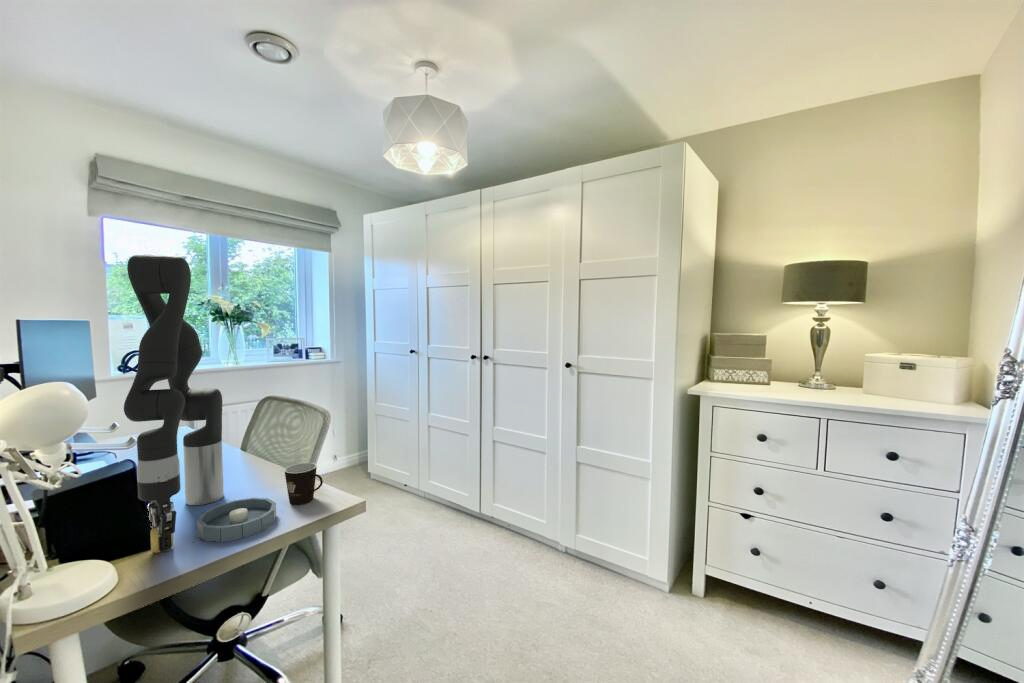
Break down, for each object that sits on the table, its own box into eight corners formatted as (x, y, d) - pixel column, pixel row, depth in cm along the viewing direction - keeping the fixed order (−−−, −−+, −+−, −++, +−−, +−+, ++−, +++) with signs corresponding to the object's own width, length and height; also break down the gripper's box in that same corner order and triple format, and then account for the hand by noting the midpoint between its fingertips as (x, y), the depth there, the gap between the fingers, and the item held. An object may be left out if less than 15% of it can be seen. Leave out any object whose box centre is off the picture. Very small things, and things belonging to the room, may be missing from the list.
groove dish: (189, 527, 109) (189, 514, 108) (259, 504, 122) (259, 492, 122) (213, 549, 99) (212, 534, 98) (286, 521, 112) (286, 509, 112)
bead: (149, 548, 97) (148, 529, 97) (170, 540, 101) (169, 522, 100) (153, 554, 95) (153, 535, 95) (175, 546, 98) (174, 527, 98)
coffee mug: (281, 500, 125) (280, 467, 124) (311, 491, 131) (310, 460, 130) (294, 513, 117) (293, 478, 116) (325, 504, 123) (325, 470, 122)
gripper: (129, 472, 98) (133, 543, 99) (146, 488, 89) (150, 565, 90) (169, 463, 104) (173, 530, 105) (189, 477, 95) (192, 550, 96)
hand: (162, 546), depth 98 cm, fingers closed on bead, 4 cm apart
